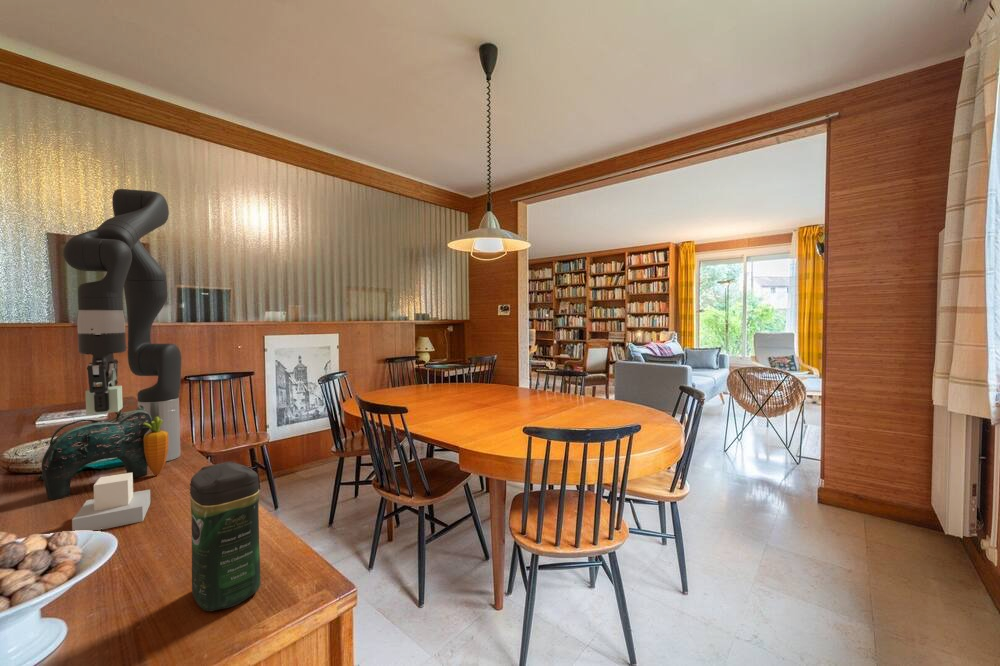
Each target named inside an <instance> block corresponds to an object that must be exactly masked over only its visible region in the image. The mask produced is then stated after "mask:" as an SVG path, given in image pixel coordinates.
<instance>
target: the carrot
mask: <svg viewBox="0 0 1000 666" xmlns="http://www.w3.org/2000/svg"><path fill="white" fill-rule="evenodd" d="M154 419H155V422H154V421H152V422H151V423H152V426H151V425H150V424H148V423H144V424H143V425H145V426H147V427H149V428H150V429H151V431H152V432H149V433H148V434H146V435H145V436H144V439H143V440H144V452H145V457H146V461H147V467H148V468H149V470H150V471H151V472H152V473H153V475H154V476H156V475H158V476H159V475H160V474H161V472H162V471H163V469H164V467H165V464H166V462H167V461H166V458H167V453H168V433H167V432H166V431H159V430H160V426H161V424H162V421H163V420H162V419H159V417H154Z"/></svg>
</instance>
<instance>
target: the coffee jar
mask: <svg viewBox="0 0 1000 666" xmlns="http://www.w3.org/2000/svg"><path fill="white" fill-rule="evenodd" d="M259 482H260V481H259V475H258V473H257V472H256V471H255V470H254V469H252V468H250V467H249V466H247V465H243V464H240V463H236V462H234V461H226V462H222V463H221V462H220V463H217V464H212V465H206V466H203V467H202V468H200V470H198V471H197V472H196V473H195V474H194V475H193V476H192V477H191V480H190V483H189V486H190V488H189V497H190V498H189V499H190V513H191V517H190V518H191V523H190V524H191V593H192V597H193V599H194V601H195V603H196V604H197V605H198V607H199V608H200V609H202V610H204V611H206V612H213V611H217V610H222V609H229V608H232V607H234V606H237V605H239V604H240V603H242V602H244V601H246V600H247V599H249V598H250V597H251V596H253V595H254V594H256V592H258V590H259V589H260V587H261V556H260V555H261V554H260V553H261V552H260V551H261V550H260V519H259V518H260V517H259V516H260V513H259V512H260V511H259V502H260V501H259V500H260V483H259Z"/></svg>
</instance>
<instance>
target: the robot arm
mask: <svg viewBox="0 0 1000 666" xmlns="http://www.w3.org/2000/svg"><path fill="white" fill-rule="evenodd" d="M111 199H112V201H111V202H112V210H113V216H112V217H110V218H108V219H106V220H105V221H103V222H102V223H101V224H100V225H99V226H98V227H97V228H95V229H92V230H88V231H84V232H81V233H78V234H77V235H74V236H73V237H71V238H69V239H68V240H67V242H66V243H65V244H64V247H63V250H62V253H63V259H64V260H65V262H66V264H67V265H68V266H70V267H71V268H73V269H74V270H78V271H83V272H102V273H104V272H106V274H105V276H104V277H103V278H102V279H99V280H96V281H90V282H84V283H82V284H80V285H79V286H78V287H77V302H78V303H77V304H78V307H77V308H78V313H77V314H78V315H77V319H76V321H77V323H76V324H77V326H76V327H77V350H78V353H79V354H80V355H91V356H92V360H91V362H89V363H88V365H87V367H86V370H87V377H88V378H87V379H88V386H89V388H88V390H89V391H90V393H92V394H93V395H94V408H95V412H105V411H108V410H109V394H108V393H109V392H110V390H109V387H111V386H118V383H119V382H118V364H119V360H118V359H115V358H114V354H120V353H125V352H126V351H127V363H128V367H129V369H130V372H131V373H132V374H133V375H135V376H138V377H157V381H156V383H155V384H153V385H152V386H149V387H146V388H143V389H140V390H139V391H138V392H137V407H138V406H139V405H142V406H143V407H144V410H145V411H146V412H147V413H149V414H150V416H151V419H152V421H154V422H155V419H154V417H159V419H162V420H163V421H162V424H161V426H160V430H159V431H166V432H167V433H168V453H167V458H166V462H170V461H173V460H175V459H177V458H180V457H181V425H180V423H181V422H180V421H181V420H180V389H181V381H182V378H181V377H182V354H181V353H182V352H181V350H180V348H179V347H178V346H177V345H176V344H174V343H152V341H151V339H152V338H151V336H152V335H151V332H152V327H153V323H154V321H155V320H156V318H157V316H158V315H159V313H160V312H161V311H162V309H163V308H164V306H165V304H166V302H167V299H168V295H169V294H168V284H167V276H166V275H167V274H166V273H165V271H164V269H163V268H162V266H161V265H160V264H159V263H158V262H157V260H156V259H154V257H153V256H152V255H151V254H150V253H149V252H148V249H146V248H145V246H144V245H143V243H142V242H141V239H143V237H144V236H146V235H148V234H149V233H151V232H153V231H155V230H156V229H158V228H160V227H162V226H164V225H165V224H166V223H167V221H168V219H169V215H170V213H169V205H168V200H166V198H165V196H164V195H163V194H161V193H160V192H157V191H151V190H143V189H142V190H140V189H130V188H129V189H128V188H117V189H115V190H114V192H113V193H112V198H111ZM123 294H124V295H123ZM123 296H124V298H125V306H126V314H127V317H126V318H127V332H126V320H125V315H124V314H125V313H124V298H123ZM126 333H127V334H126ZM126 335H127V339H126ZM98 385H99V386H98ZM149 432H152V431H151V429H149V431H148V432H147V433H146V434H148V433H149ZM146 434H145V435H146ZM145 435H144V436H145Z"/></svg>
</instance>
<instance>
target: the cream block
mask: <svg viewBox="0 0 1000 666" xmlns="http://www.w3.org/2000/svg"><path fill="white" fill-rule="evenodd" d="M133 492H134V479H133V472H132V473H127V472H126V473H120V474H119V473H118V474H113V475H112V474H111V475H107V476H100V477H99V478H98V479H97V480H96V481H95V483H94V485H93V499H94V511H97V510H102V509H108V508H113V507H119V506H124V505H129V503H130V501H131V499H132V497H133Z"/></svg>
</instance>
